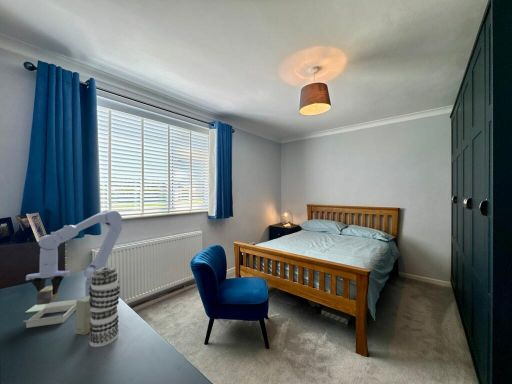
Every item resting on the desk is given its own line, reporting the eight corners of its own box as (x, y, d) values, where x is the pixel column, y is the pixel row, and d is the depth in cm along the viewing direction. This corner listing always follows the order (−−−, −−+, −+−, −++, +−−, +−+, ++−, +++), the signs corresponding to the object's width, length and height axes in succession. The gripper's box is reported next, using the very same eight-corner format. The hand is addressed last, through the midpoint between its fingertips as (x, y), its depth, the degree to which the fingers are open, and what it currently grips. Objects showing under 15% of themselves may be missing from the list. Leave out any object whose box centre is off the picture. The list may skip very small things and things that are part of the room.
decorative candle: (88, 337, 79) (88, 268, 79) (118, 327, 84) (118, 263, 85) (87, 351, 71) (88, 275, 72) (120, 340, 77) (121, 269, 77)
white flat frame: (78, 307, 100) (78, 299, 100) (60, 325, 86) (60, 316, 86) (46, 311, 96) (46, 302, 96) (22, 330, 82) (22, 321, 82)
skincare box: (84, 335, 80) (85, 302, 80) (74, 333, 80) (75, 300, 81) (100, 325, 86) (100, 294, 86) (91, 324, 87) (91, 293, 87)
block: (58, 296, 98) (58, 285, 98) (48, 303, 91) (48, 291, 91) (47, 297, 96) (47, 286, 96) (36, 305, 90) (36, 293, 90)
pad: (54, 303, 103) (54, 302, 103) (44, 310, 97) (44, 309, 97) (36, 305, 101) (36, 304, 101) (25, 313, 94) (25, 312, 95)
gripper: (20, 267, 88) (20, 301, 88) (64, 264, 93) (63, 296, 92) (32, 262, 95) (32, 293, 95) (72, 259, 99) (72, 289, 99)
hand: (48, 294), depth 94 cm, fingers closed on block, 4 cm apart
